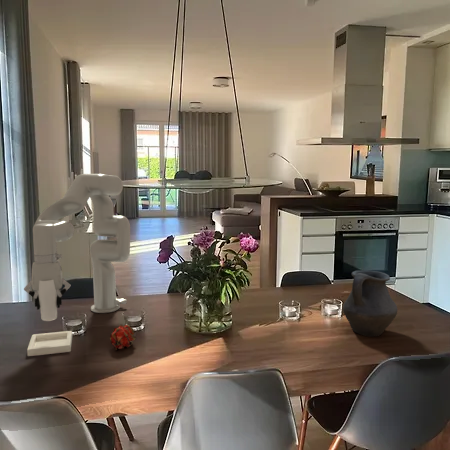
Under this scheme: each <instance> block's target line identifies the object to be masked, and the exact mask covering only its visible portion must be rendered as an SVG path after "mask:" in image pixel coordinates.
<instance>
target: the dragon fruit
mask: <svg viewBox="0 0 450 450" xmlns="http://www.w3.org/2000/svg"><path fill="white" fill-rule="evenodd" d="M134 335H135V329H134V328H133V327H132V326H130V324H124V325H123V324H119V326H118V327H114V328H113V330H112V331H111V333H110V336H109V339H110V343H111V344H112V346H113V347H114V348H115V351H118V350H122V349H124V348H125V347H126V348H129V347H131V346H132V344H133V343H134V341H135V340H136V338H137V337H136V336H134Z"/></svg>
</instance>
